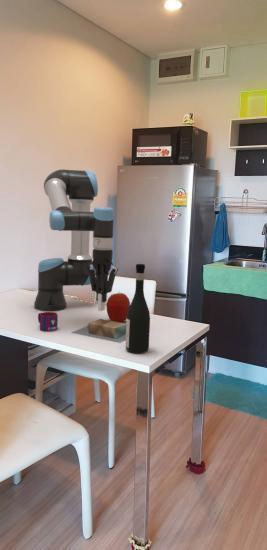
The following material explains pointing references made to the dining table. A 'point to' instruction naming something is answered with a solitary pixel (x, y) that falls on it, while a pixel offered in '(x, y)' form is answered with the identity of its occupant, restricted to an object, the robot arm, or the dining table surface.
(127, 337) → the wine bottle
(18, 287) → the dining table surface
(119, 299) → the apple
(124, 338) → the mat
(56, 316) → the mug
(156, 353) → the dining table surface
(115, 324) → the block
